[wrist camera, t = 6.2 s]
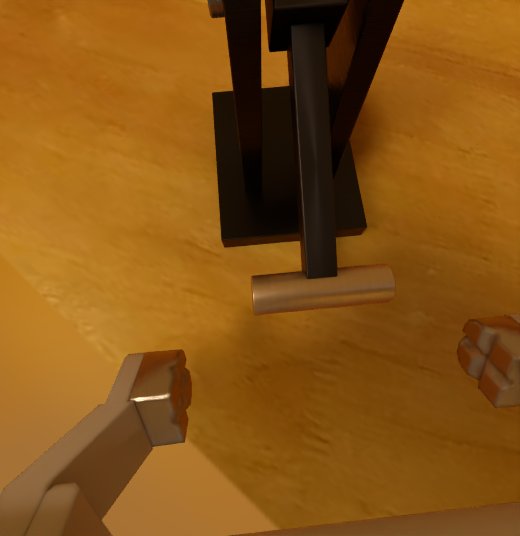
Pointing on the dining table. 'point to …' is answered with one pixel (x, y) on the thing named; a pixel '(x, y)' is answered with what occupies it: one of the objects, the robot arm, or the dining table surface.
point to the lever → (314, 171)
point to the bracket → (289, 124)
